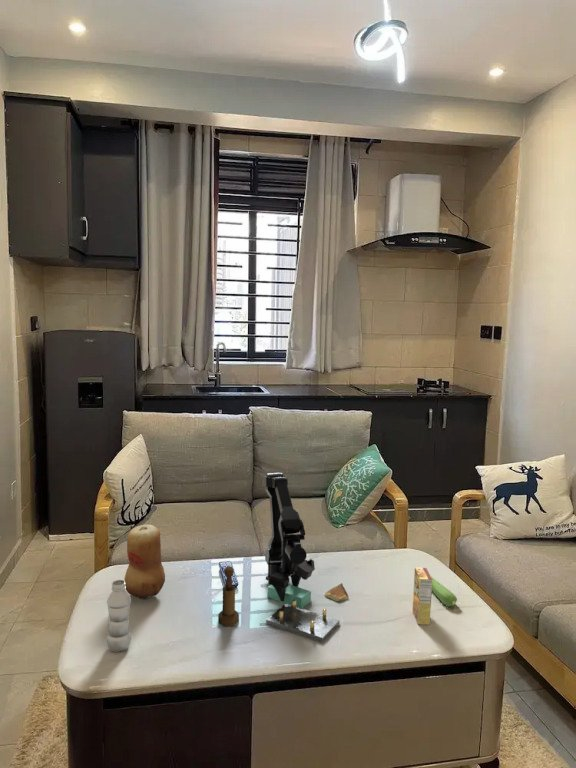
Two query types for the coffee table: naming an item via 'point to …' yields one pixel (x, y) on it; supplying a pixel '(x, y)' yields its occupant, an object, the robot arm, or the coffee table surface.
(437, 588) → the green cucumber
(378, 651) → the coffee table surface
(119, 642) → the plastic bottle
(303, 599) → the green rectangular block
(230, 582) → the brown wooden tall piece
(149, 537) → the butternut squash
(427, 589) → the candy box
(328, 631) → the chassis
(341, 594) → the shard
